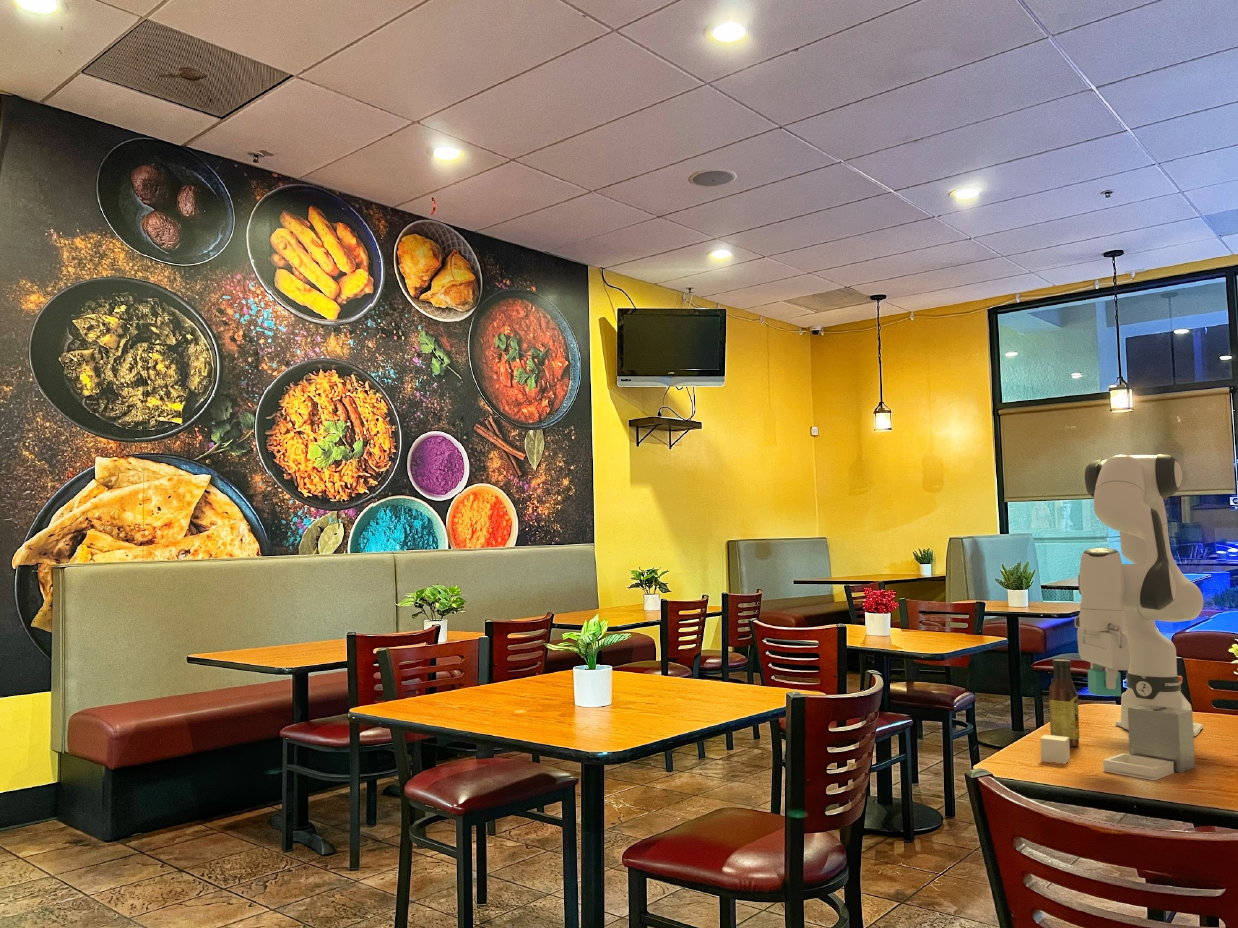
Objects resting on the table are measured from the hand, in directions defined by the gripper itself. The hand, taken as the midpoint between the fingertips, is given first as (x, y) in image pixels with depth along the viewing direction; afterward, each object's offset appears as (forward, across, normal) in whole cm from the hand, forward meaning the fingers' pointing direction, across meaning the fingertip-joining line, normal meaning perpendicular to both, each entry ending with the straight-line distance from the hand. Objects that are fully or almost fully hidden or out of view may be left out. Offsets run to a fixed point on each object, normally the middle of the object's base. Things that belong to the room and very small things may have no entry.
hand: (1104, 686), depth 204 cm
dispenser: (+16, +1, -12) cm, 20 cm away
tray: (+17, -6, -4) cm, 18 cm away
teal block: (+2, 0, 0) cm, 2 cm away
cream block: (+17, +2, +10) cm, 20 cm away
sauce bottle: (+17, +20, +2) cm, 26 cm away
